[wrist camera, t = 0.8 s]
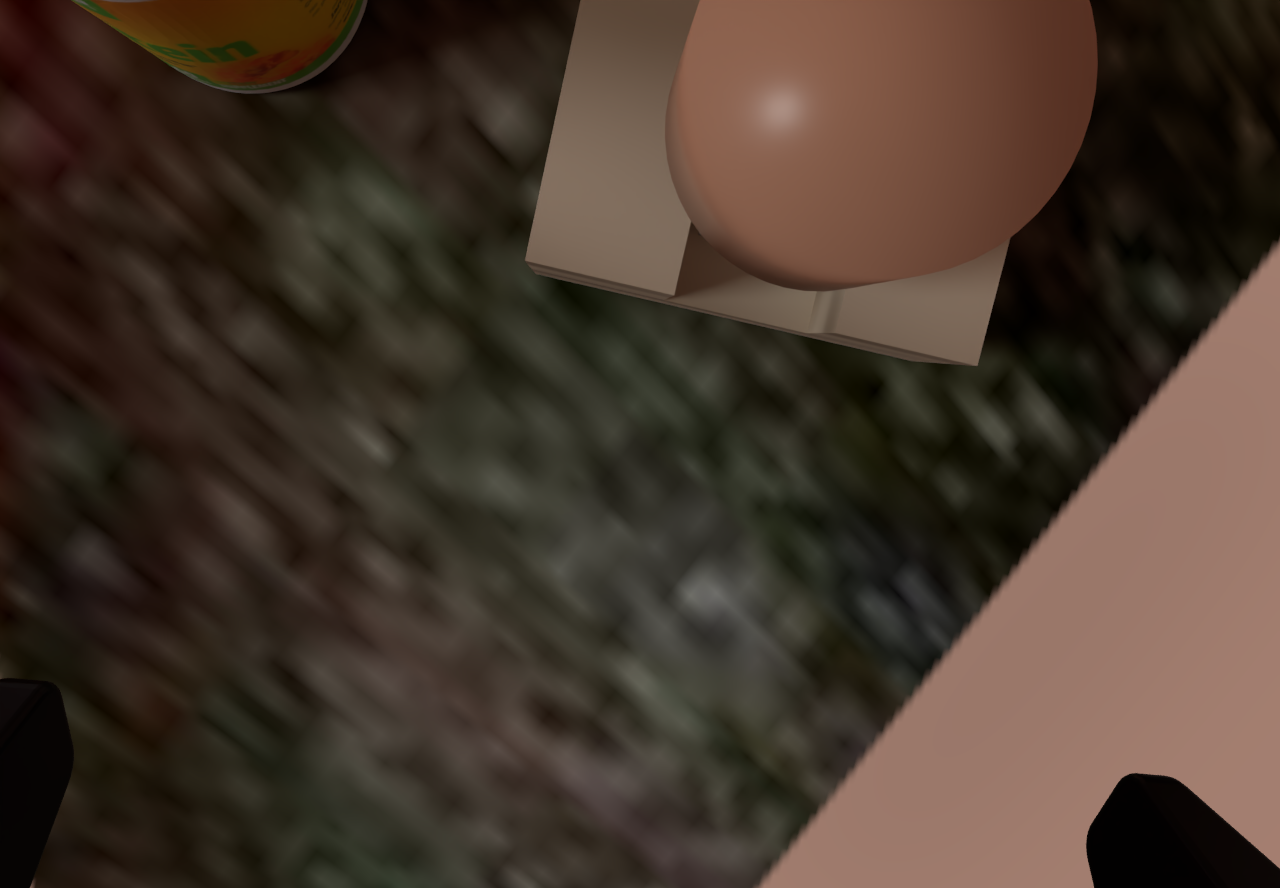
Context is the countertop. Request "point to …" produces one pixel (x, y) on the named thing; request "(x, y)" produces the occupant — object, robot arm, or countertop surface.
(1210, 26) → the countertop surface
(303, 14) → the supplement bottle
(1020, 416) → the countertop surface
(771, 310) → the knob track
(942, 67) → the knob
